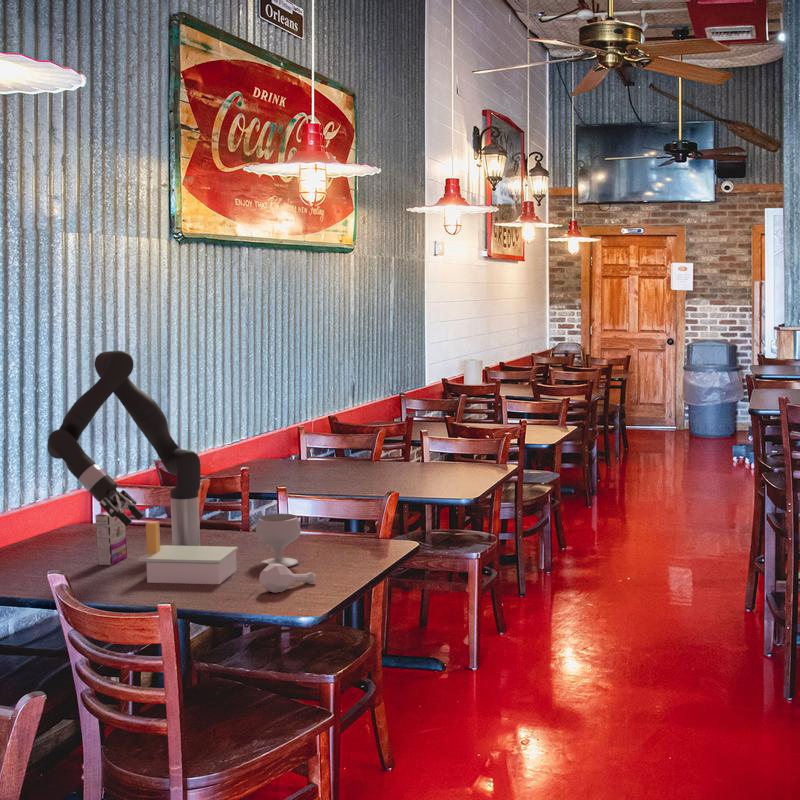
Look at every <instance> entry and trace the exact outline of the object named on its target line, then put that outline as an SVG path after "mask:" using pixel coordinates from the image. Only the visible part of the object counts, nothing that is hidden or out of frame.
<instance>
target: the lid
mask: <svg viewBox="0 0 800 800" xmlns="http://www.w3.org/2000/svg"><path fill="white" fill-rule="evenodd" d="M160 532H161V531H160V521H159V520H155V521H154V520H153V521H152V520H151V521H148V522H145V533H146V534H145V535H146V536H145V537H146V553H145V554H143V555H141V556H140V557H138V558H137V562H188V563H221V562H222V561H223V560H225V559H226V558H227V557H229V556H230V555H231V554H233V553H234V552H235V551H236V552H237V551H238V550H239V546H222V545H221V546H213V545H211V546H209V545H200V546H172V544H171V545H170V544H169V545H167V544H165V545H162V544H161V536H160V535H161V533H160Z"/></svg>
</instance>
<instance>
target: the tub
mask: <svg viewBox="0 0 800 800" xmlns="http://www.w3.org/2000/svg"><path fill="white" fill-rule="evenodd" d="M237 569H238V568H237V551H235V552H234V553H233V554H231V555H230V556H229V557H227V558H226V559H225V560H223V561H222V562H221V563H188V562H146V582H147V583H155V584H156V583H157V584H159V583H160V584H193V585H198V584H199V585H200V584H201V585H220V584H222V583H223V582H224V581H226V579H228V578H229V577H230V576H232V575H233V574H234V573H235V572H236V571H237Z"/></svg>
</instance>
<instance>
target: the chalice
mask: <svg viewBox="0 0 800 800" xmlns="http://www.w3.org/2000/svg"><path fill="white" fill-rule="evenodd" d="M301 529H302V528H301V524H300V521H299V519H298V516H297V515H295V514H291V513H270V514H265V515H264V514H263V515H261V516H260V517H259V518H258V520H257V522H256V526H255V535H256V538H257V539H258V540H259V541H260V542H262V543H264V544H266V545H268V546H270V547H271V548H272V549H273V550H274V551H275V557H272V558H267V559H264V560H262V561H261V563H265V564H267V565H269V564H281V565H285V566H286V567H287V568H289V567H293V566H296V565H298V564H299V560H298V559H295V558H291V557H284V556H283V553H282V552H283V550H284V549H285V548H286V547H287V546H288V545H289V544H292V543H294V541H296V540H297V539H298V538H299V537H300V536H301Z"/></svg>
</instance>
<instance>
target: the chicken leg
mask: <svg viewBox="0 0 800 800" xmlns="http://www.w3.org/2000/svg"><path fill="white" fill-rule="evenodd" d="M258 578H259V580H258V581H259V583H260V584H261V586H262V588H264V589H265V591H267V592H271V593H273V594H274V593H275V594H276V593H278V592H281V593H284V592H285V591H286V590H287V589H288V588H289V587H291V585H293V583H306V584H309V583H310V584H309V585H311V584H314V582H316V579H317V576H316V573H314V572H311V571H310V572H306V573H294V572H292V571H291V569H289V567H286V566H285V565H282V564H267V566H266V567H265V568H264V569H263V570H262V571H260V573H259V577H258ZM283 591H284V592H283Z"/></svg>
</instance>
